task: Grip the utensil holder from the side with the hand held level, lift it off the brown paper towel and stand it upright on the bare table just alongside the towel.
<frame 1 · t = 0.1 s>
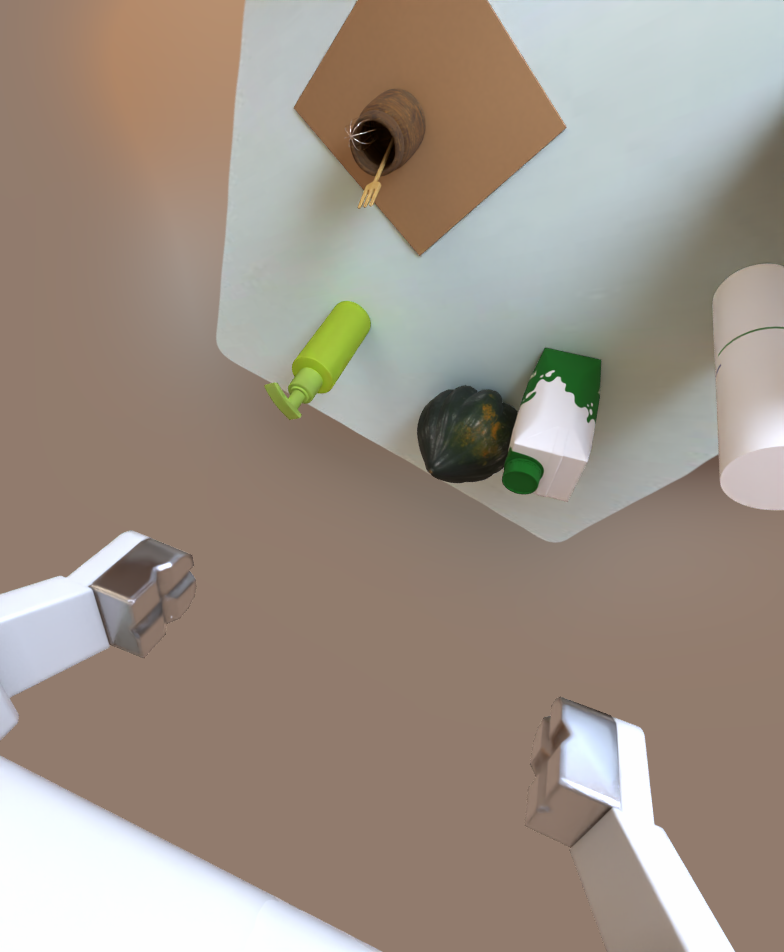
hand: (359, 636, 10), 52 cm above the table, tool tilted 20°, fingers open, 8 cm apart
squash: (476, 408, 76), on the table
milk carton: (566, 373, 65), on the table
soap dispenser: (350, 315, 70), on the table
utensil holder: (400, 123, 49), resting on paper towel
cylindrical container: (753, 296, 50), on the table
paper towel: (420, 116, 48), on the table
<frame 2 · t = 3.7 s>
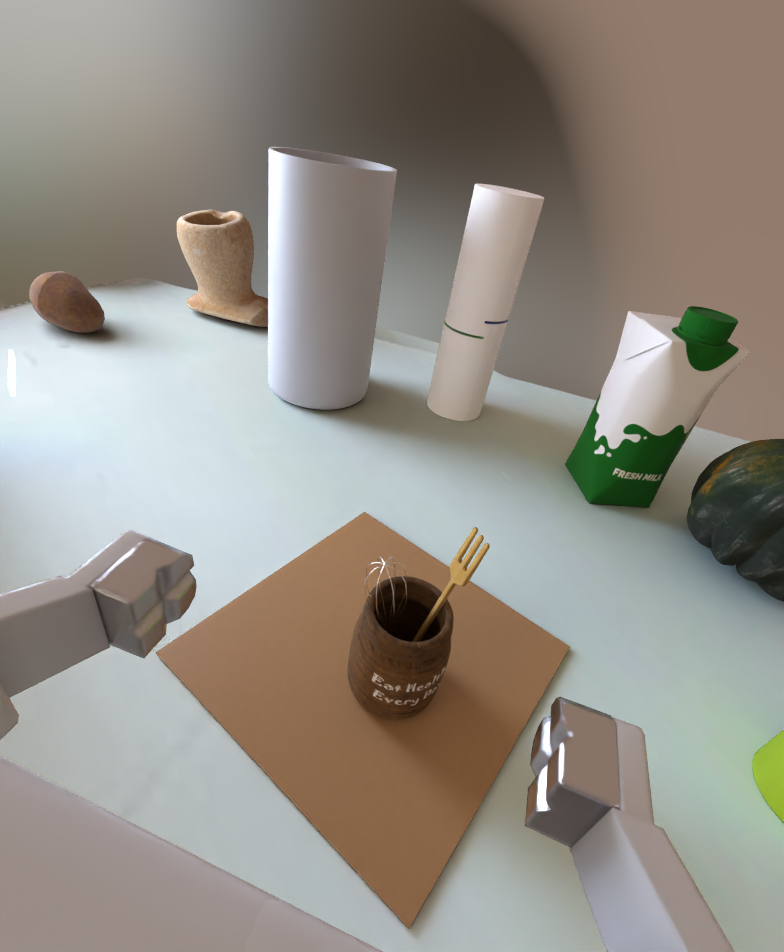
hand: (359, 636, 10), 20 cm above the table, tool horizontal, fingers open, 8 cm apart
cylinder vase: (318, 389, 63), on the table
squash: (749, 563, 47), on the table
milk carton: (604, 486, 55), on the table
utensil holder: (392, 679, 32), resting on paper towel
stone cup: (233, 319, 77), on the table
cylindrical container: (453, 408, 64), on the table
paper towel: (379, 650, 33), on the table
potato: (71, 328, 66), on the table
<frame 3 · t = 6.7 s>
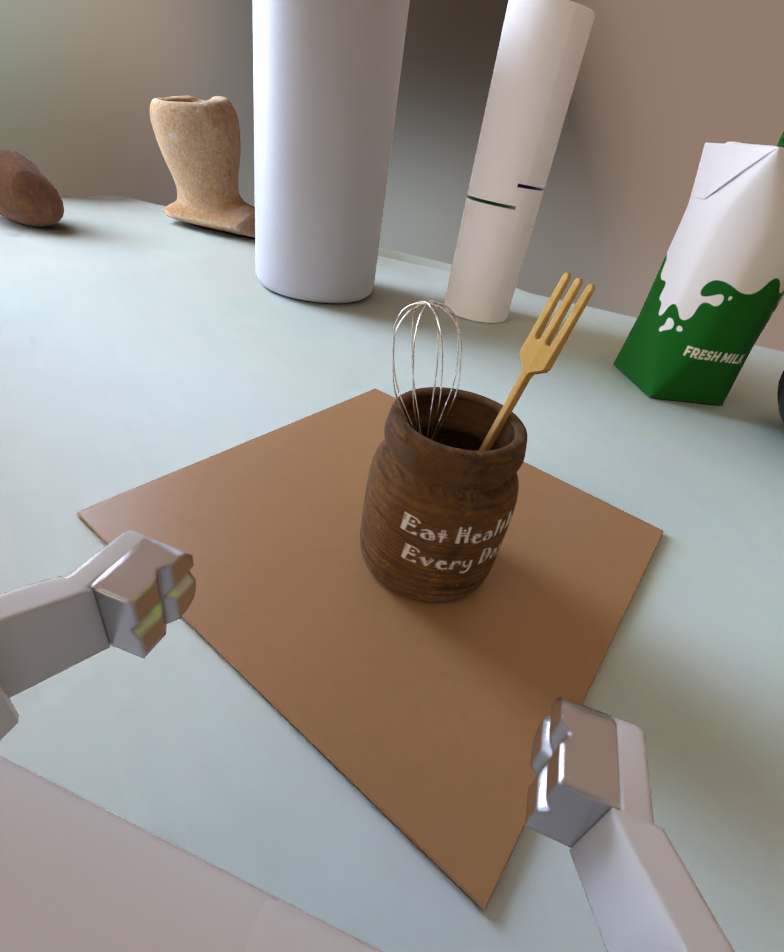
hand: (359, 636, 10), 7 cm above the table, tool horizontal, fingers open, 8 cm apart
cylinder vase: (315, 288, 53), on the table
milk carton: (663, 385, 45), on the table
utensil holder: (425, 557, 22), resting on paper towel
stone cup: (218, 231, 68), on the table
cylindrical container: (474, 313, 55), on the table
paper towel: (403, 525, 23), on the table
potato: (25, 223, 56), on the table
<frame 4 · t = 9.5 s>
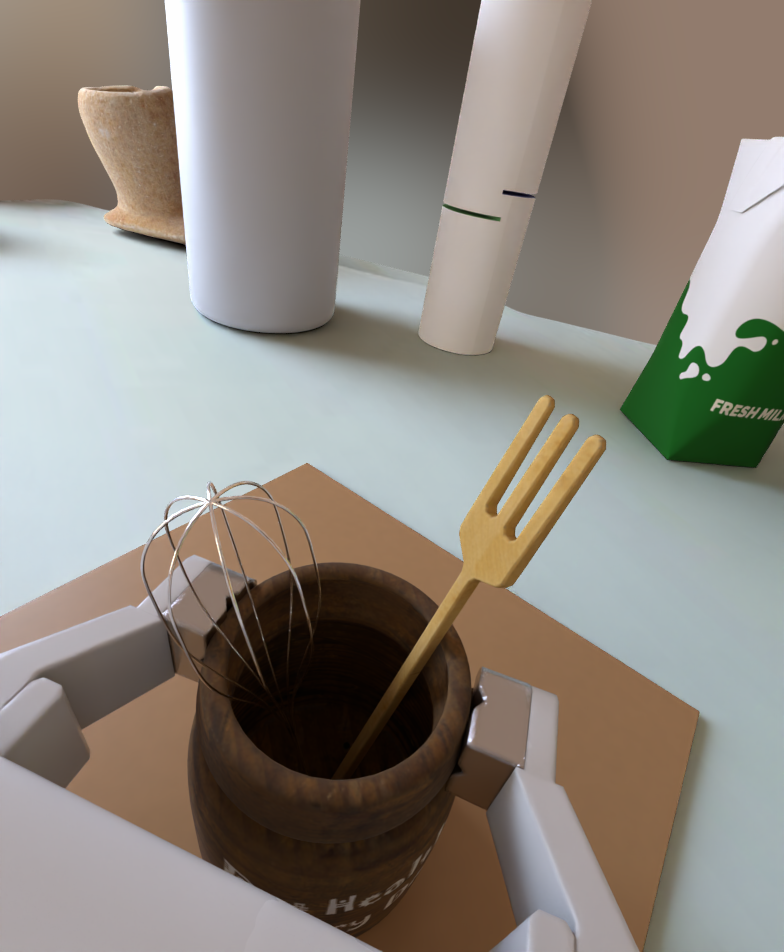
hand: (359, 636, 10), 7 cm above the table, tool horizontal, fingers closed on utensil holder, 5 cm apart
cylinder vase: (265, 312, 45), on the table
milk carton: (681, 439, 36), on the table
utensil holder: (322, 809, 13), resting on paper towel, touching gripper
stone cup: (167, 241, 59), on the table
cylindrical container: (454, 341, 46), on the table
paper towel: (298, 732, 15), on the table
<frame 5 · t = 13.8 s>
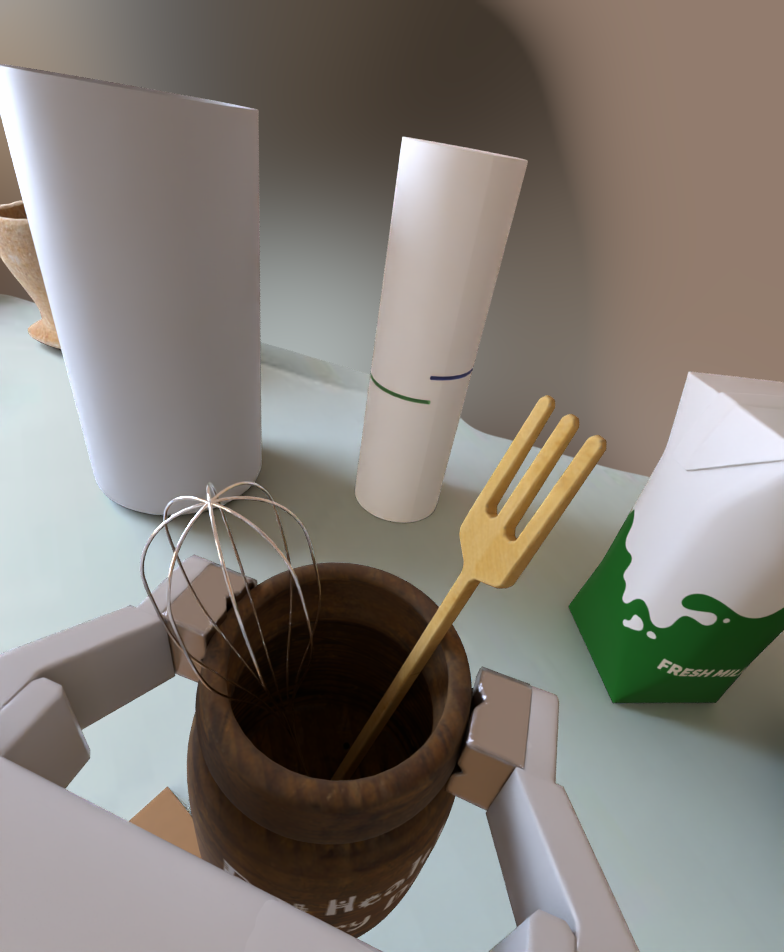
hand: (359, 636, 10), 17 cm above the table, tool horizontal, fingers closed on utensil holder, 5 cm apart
cylinder vase: (183, 472, 40), on the table
milk carton: (634, 652, 32), on the table
utensil holder: (322, 810, 13), point 10 cm above the table, touching gripper
stone cup: (99, 352, 55), on the table
cylindrical container: (395, 496, 42), on the table
when the fingers open (6 cm above the table, at t = 18.3 s): utensil holder stays where it is, on the table.
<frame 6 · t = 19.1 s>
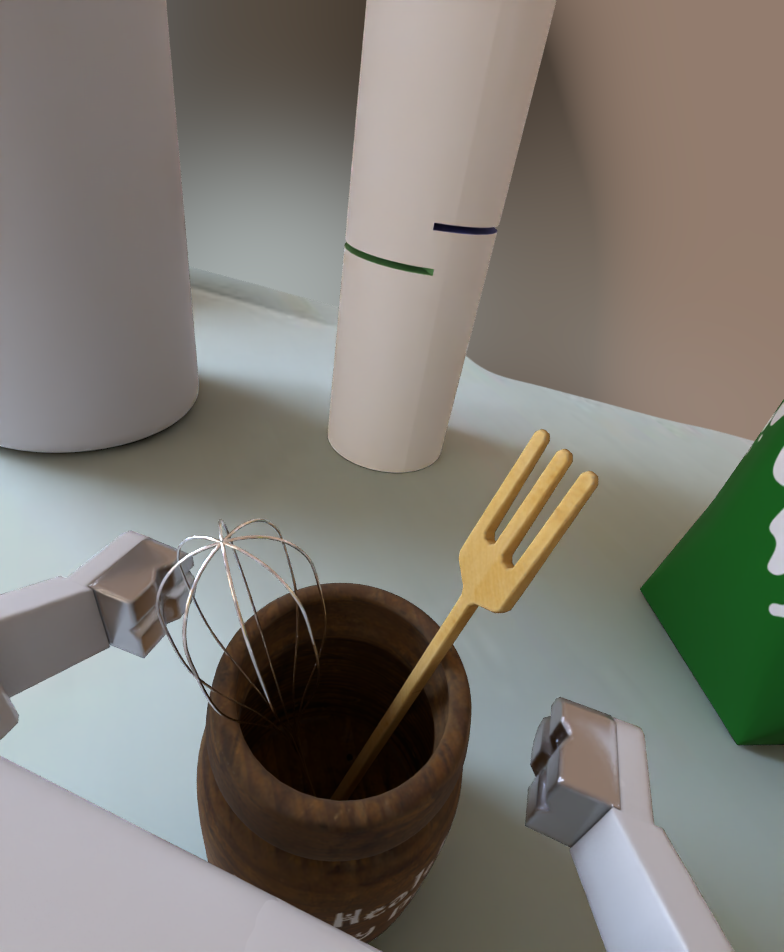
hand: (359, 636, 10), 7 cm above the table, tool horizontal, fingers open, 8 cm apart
cylinder vase: (87, 402, 29), on the table
milk carton: (750, 659, 21), on the table
utensil holder: (326, 820, 14), on the table
cylindrical container: (384, 441, 30), on the table
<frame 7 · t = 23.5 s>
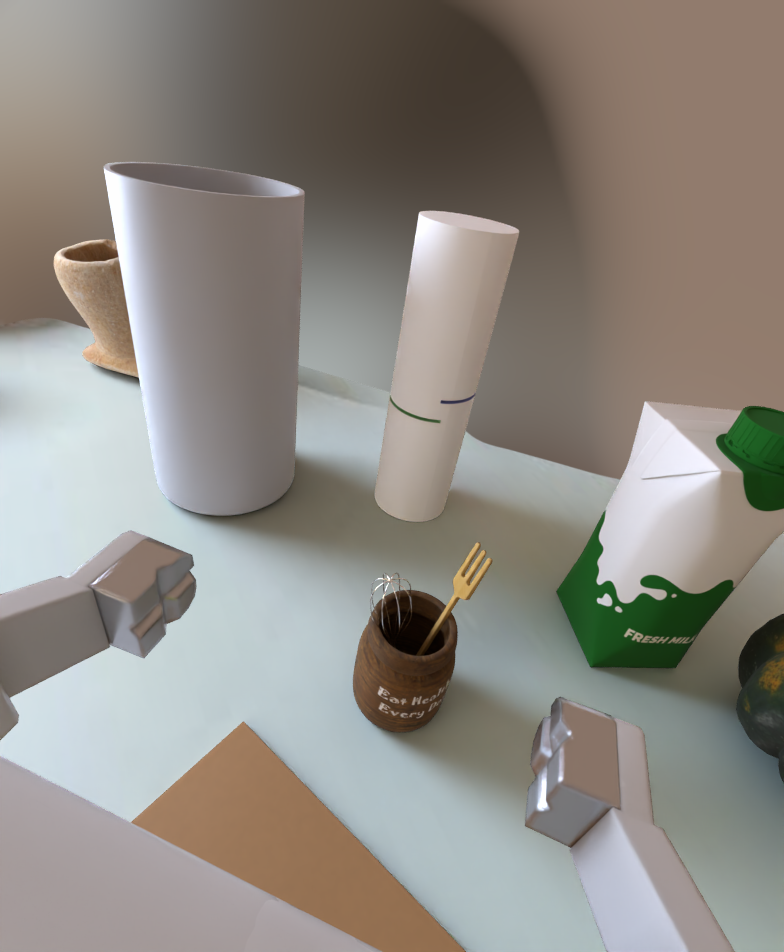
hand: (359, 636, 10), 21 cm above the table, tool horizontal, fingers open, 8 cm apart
cylinder vase: (228, 479, 47), on the table
milk carton: (610, 628, 39), on the table
utensil holder: (397, 691, 32), on the table
stone cup: (144, 372, 62), on the table
cylindrical container: (409, 499, 49), on the table
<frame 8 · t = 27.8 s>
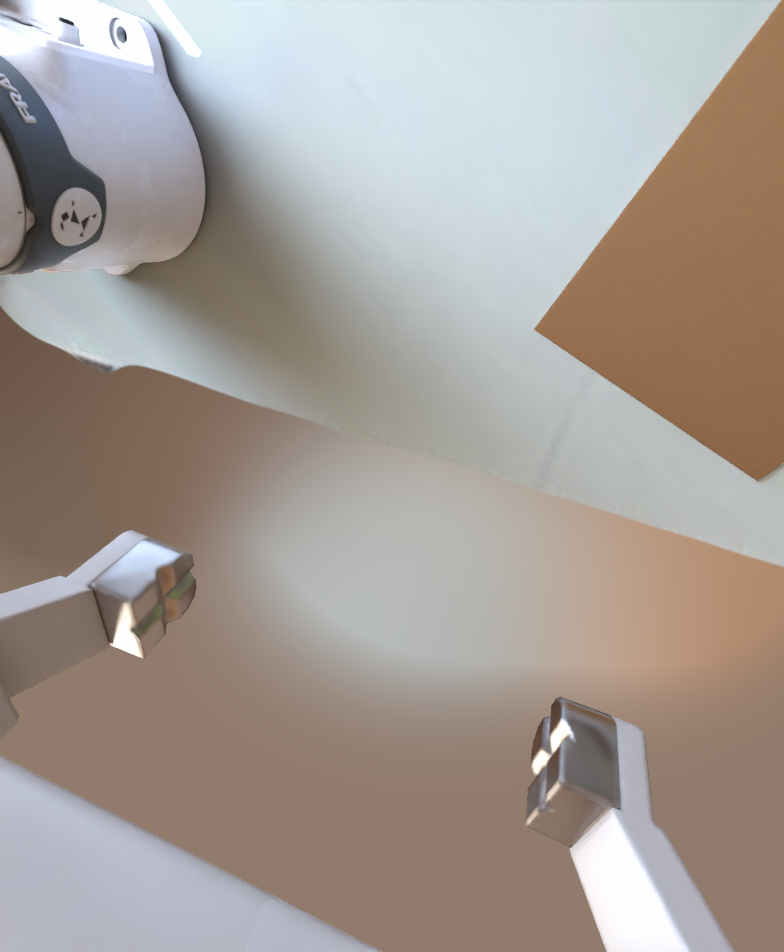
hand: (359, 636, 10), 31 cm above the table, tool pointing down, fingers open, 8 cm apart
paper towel: (771, 283, 30), on the table
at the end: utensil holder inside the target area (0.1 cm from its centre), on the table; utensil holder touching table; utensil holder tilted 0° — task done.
